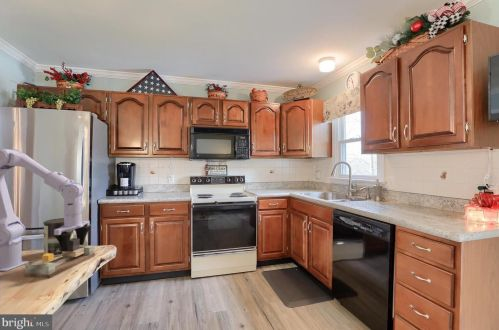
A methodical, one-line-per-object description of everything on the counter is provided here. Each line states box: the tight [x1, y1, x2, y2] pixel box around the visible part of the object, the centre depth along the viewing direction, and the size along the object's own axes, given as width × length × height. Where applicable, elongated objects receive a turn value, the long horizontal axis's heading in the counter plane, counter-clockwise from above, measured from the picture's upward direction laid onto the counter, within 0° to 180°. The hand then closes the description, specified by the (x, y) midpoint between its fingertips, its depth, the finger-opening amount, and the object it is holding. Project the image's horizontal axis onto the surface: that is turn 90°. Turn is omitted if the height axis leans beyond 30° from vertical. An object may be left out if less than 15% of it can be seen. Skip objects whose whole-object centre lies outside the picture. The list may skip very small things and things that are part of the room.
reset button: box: [41, 253, 55, 262], centre depth 83 cm, size 2×2×2 cm
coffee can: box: [43, 217, 74, 258], centre depth 105 cm, size 10×10×14 cm
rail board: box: [23, 244, 96, 279], centre depth 92 cm, size 10×20×5 cm, turn 172°
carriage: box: [61, 237, 84, 257], centre depth 97 cm, size 6×4×6 cm, turn 83°
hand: (73, 247), depth 97 cm, fingers open, 7 cm apart
